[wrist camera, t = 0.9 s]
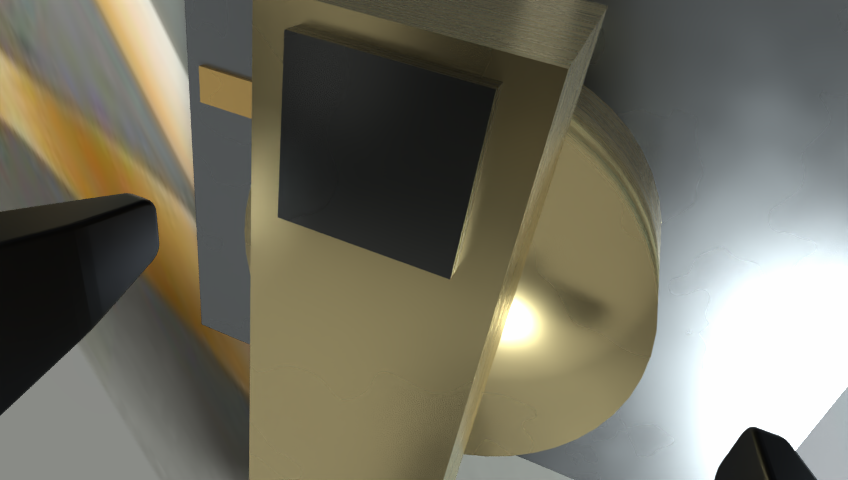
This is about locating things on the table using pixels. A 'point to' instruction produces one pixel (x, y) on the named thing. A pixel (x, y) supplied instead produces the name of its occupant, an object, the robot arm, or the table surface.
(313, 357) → the brass lock knob
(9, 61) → the table surface
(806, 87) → the lock base
